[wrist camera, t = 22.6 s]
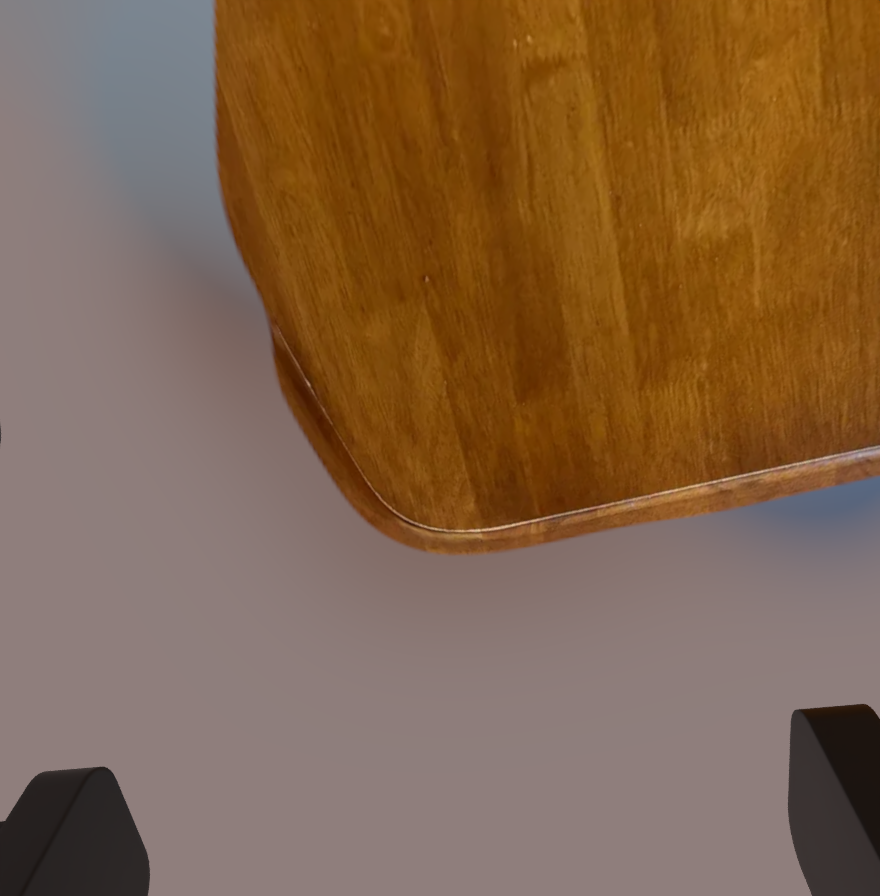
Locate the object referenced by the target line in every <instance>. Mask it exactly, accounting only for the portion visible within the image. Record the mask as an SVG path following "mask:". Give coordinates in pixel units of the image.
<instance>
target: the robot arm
mask: <svg viewBox="0 0 880 896" xmlns="http://www.w3.org/2000/svg"><path fill="white" fill-rule="evenodd" d="M788 793H789V794H788V813H789V823H790V829H791V835H792V839H793V844H794V847H795V851H796V854H797V858H798V861H799V864H800V866H801V869H802V872H803V874H804V877H805V879H806V882H807V884H808V886H809V889H810V891H811V894H812V896H880V719H879V717H878V716H877V714H876V713H875V712H874V710H873V709H871V707H869V706H868V705H866V704H857V705H845V706H834V707H822V708H810V709H799V710H795V711H794V712H793V714H792V718H791V734H790V764H789V792H788ZM149 880H150V868H149V860H148V855H147V852H146V849H145V847H144V844H143V842H142V840H141V837H140V835H139V832H138V830H137V828H136V825H135V823H134V821H133V818H132V816H131V813H130V811H129V809H128V806H127V804H126V801H125V799H124V797H123V795H122V792H121V790H120V787H119V785H118V782H117V780H116V778H115V776H114V774H113V773H112V772H111V771H110V770H109V769H108V768H106V767H93V768H82V769H70V770H58V771H46V772H42V773H40V774H38V775H37V776H35V777H34V778H33V780H31V782H30V783H29V785H28V786H27V787H26V789H25V791H24V792H23V794H22V795H21V797H20V798H19V800H18V802H17V803H16V805H15V806H14V808H13V810H12V811H11V813H10V814H9V816H8V817H7V819H6V821H3V822H0V896H148V890H149Z"/></svg>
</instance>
